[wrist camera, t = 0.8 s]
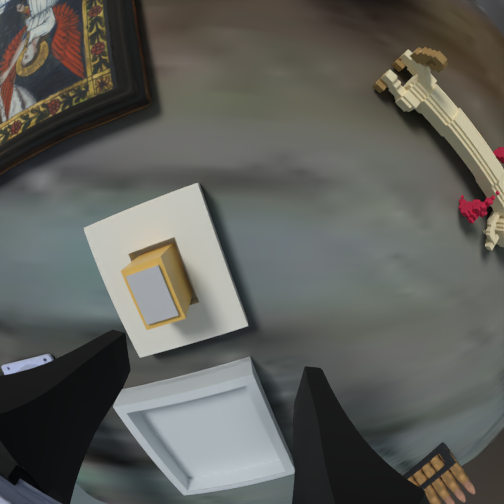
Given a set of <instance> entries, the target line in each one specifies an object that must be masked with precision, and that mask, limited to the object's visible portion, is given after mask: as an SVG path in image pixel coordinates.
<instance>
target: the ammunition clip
mask: <svg viewBox="0 0 504 504" xmlns="http://www.w3.org/2000/svg"><path fill="white" fill-rule="evenodd" d="M440 457H441V458H440ZM441 459H442V460H443V461H444V462H443V461H442V460H441ZM444 463H445V464H444ZM432 465H433V466H432ZM433 467H434V468H435V469H434V468H433ZM435 470H436V471H437V472H436V471H435ZM451 472H452V473H453V475H454V476H455V477H456V479H457V480H458V481H459V482H461V483H462V485H464V487H465V488H466V489H467V490H468V491H469V492H470V493H472V494H475V489H474V487H473V484H472V483H471V481H470V480H469V478H468V477H467V474H466V473H465V471H464V470H463V469H462V467H461V466H460V464H459V463H458V462H457V460H456V459H455V457H454V456H453V454H452V453H451V452H450V450H449V449H448V447H447V446H446V445H445V444H444V443H441V444H440V445H439V446H438V447H437V448H435V449H434V450H433V451H432V452H431V453H430V454H429V455H427V456H426V457H425V458H424V459H423V460H422V461H420V462H419V463H418V464H417V465H416V466H414V467H413V468H412V469H411V470H409V471H408V472H407V473H406V474H404V475H403V477H405V478H406V479H407V480H409V481H410V482H412V483H414V484H415V485H417V486H418V487H420V488H421V489H423V490H424V491H425V493H426V496H427V498H428V500H429V501H428V502H430V503H431V504H442V503H441V501H440V499H439V496H438V494H439V495H440V496H441V497H442V498H443V500H444V501H445V502H446V504H455V503H454V500H453V498H452V497H451V495H450V493H449V491H448V489H447V487H448V488H449V489H450V490H452V492H453V493H454V494H455V495H456V497H457V498H458V499H459V500H461V501H462V502H465V496H464V493H463V492H462V490H461V489H460V487H459V485H458V483H457V481H456V479H455V478H454V476H453V475H452V473H451ZM424 473H425V474H424ZM426 476H427V477H426ZM442 479H443V481H444V482H445V484H446V485H447V487H446V485H445V484H444V482H443V481H442ZM417 482H418V483H417ZM433 487H434V488H435V489H434V488H433ZM435 490H436V491H437V493H438V494H437V493H436V491H435ZM430 503H429V504H430Z"/></svg>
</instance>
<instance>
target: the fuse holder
mask: <svg viewBox="0 0 504 504" xmlns="http://www.w3.org/2000/svg"><path fill="white" fill-rule="evenodd" d="M84 231H85V234H86V237H87V240H88V242H89V245H90V248H91V251H92V253H93V256H94V258H95V261H96V263H97V266H98V268H99V271H100V273H101V276H102V278H103V281H104V283H105V285H106V288H107V290H108V292H109V295H110V297H111V299H112V301H113V304H114V306H115V308H116V310H117V312H118V315H119V317H120V319H121V321H122V323H123V325H124V327H125V329H126V331H127V333H128V335H129V337H130V339H131V341H132V343H133V345H134V347H135V349H136V351H137V353H138V355H139V357H144V356H148V355H152V354H156V353H159V352H163V351H167V350H170V349H174V348H177V347H181V346H185V345H188V344H191V343H195V342H198V341H202V340H205V339H208V338H212V337H215V336H218V335H222V334H225V333H228V332H231V331H234V330H238V329H241V328H244V327H247V326H248V321H247V316H246V313H245V310H244V308H243V305H242V302H241V299H240V297H239V294H238V291H237V288H236V286H235V283H234V280H233V277H232V275H231V272H230V269H229V266H228V263H227V260H226V258H225V255H224V252H223V249H222V246H221V243H220V241H219V238H218V235H217V232H216V229H215V226H214V223H213V220H212V217H211V215H210V212H209V209H208V206H207V203H206V200H205V197H204V194H203V191H202V188H201V185H200V183H196V184H193V185H190V186H187V187H185V188H182V189H179V190H176V191H174V192H171V193H168V194H166V195H163V196H160V197H158V198H155V199H152V200H150V201H147V202H145V203H142V204H140V205H137V206H135V207H132V208H130V209H127V210H125V211H122V212H120V213H118V214H115V215H113V216H110V217H108V218H106V219H103V220H101V221H99V222H96V223H94V224H92V225H90V226H87V227H85V228H84ZM172 242H174V243H175V246H176V249H177V251H178V254H179V257H180V259H181V262H182V264H183V267H184V270H185V272H186V275H187V277H188V280H189V283H190V285H191V288H192V290H193V295H192V298H191V302H190V305H189V309H188V312H187V316H186V319H183V320H179V321H176V322H173V323H169V324H166V325H163V326H159V327H156V328H153V329H149V330H146V328H145V325H144V323H143V321H142V319H141V317H140V315H139V312H138V310H137V308H136V306H135V304H134V301H133V299H132V297H131V294H130V292H129V290H128V287H127V285H126V283H125V280H124V278H123V275H122V273H121V270H122V269H123V268H125V267H126V266H127V265H128V264H129V263H131V262H132V261H133V260H134V259H135V258H137V257H138V256H139V255H140V254H142V253H144V252H147V251H150V250H153V249H155V248H158V247H161V246H164V245H166V244H169V243H172Z"/></svg>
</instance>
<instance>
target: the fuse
mask: <svg viewBox="0 0 504 504" xmlns="http://www.w3.org/2000/svg"><path fill="white" fill-rule="evenodd" d="M121 273H122V275H123V278H124V280H125V283H126V285H127V287H128V290H129V292H130V294H131V297H132V299H133V301H134V304H135V306H136V308H137V310H138V312H139V315H140V317H141V319H142V321H143V323H144V325H145V328H146V330H149V329H153V328H156V327H159V326H163V325H166V324H169V323H173V322H176V321H179V320H183V319H186V316H187V312H188V309H189V305H190V302H191V298H192V295H193V290H192V288H191V285H190V283H189V280H188V277H187V275H186V272H185V270H184V267H183V264H182V262H181V259H180V257H179V254H178V251H177V249H176V246H175V243H174V242H172V243H169V244H166V245H164V246H161V247H158V248H155V249H153V250H150V251H147V252H144V253H142V254H140V255H139V256H138V257H137V258H135V259H134V260H133V261H132V262H131V263H129V264H128V265H127V266H126V267H125V268H123V269H122V270H121Z"/></svg>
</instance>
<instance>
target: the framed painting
mask: <svg viewBox="0 0 504 504" xmlns="http://www.w3.org/2000/svg"><path fill="white" fill-rule="evenodd" d="M151 102H152V96H151V90H150V86H149V81H148V76H147V71H146V66H145V61H144V55H143V50H142V45H141V39H140V34H139V28H138V22H137V13H136V7H135V0H0V175H1V174H3V173H4V172H6V171H8V170H9V169H11V168H12V167H14V166H16V165H18V164H20V163H21V162H23V161H25V160H27V159H29V158H31V157H33V156H34V155H36V154H38V153H40V152H42V151H44V150H46V149H48V148H50V147H52V146H54V145H55V144H57V143H59V142H61V141H63V140H65V139H67V138H69V137H72V136H74V135H76V134H79V133H82V132H84V131H87V130H89V129H92V128H95V127H98V126H100V125H103V124H106V123H108V122H111V121H113V120H116V119H118V118H121V117H123V116H125V115H128V114H130V113H133V112H136V111H138V110H141V109H144V108H146V107H148V106H149V105H150V104H151Z"/></svg>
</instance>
